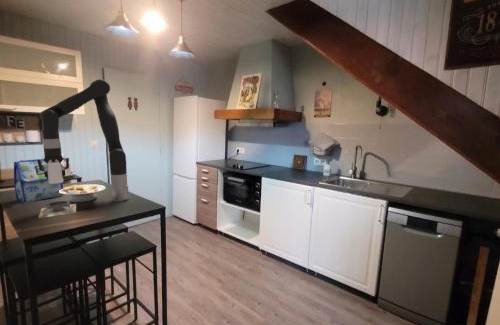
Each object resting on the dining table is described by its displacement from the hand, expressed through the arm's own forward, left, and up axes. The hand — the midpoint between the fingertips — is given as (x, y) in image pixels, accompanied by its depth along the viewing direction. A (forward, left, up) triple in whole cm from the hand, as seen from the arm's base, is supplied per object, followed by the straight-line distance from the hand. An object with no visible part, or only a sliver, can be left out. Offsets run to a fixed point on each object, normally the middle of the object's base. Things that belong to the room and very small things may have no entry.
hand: (55, 177), depth 141 cm
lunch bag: (+11, -36, -20) cm, 42 cm away
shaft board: (0, +4, -20) cm, 20 cm away
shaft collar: (0, +3, -18) cm, 18 cm away
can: (0, 0, -3) cm, 3 cm away
